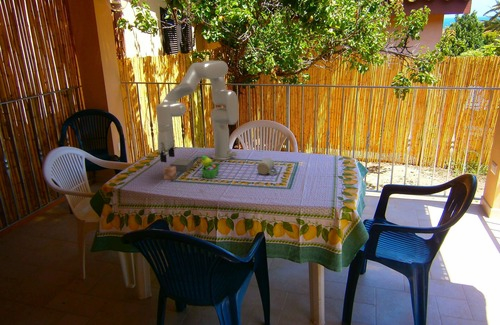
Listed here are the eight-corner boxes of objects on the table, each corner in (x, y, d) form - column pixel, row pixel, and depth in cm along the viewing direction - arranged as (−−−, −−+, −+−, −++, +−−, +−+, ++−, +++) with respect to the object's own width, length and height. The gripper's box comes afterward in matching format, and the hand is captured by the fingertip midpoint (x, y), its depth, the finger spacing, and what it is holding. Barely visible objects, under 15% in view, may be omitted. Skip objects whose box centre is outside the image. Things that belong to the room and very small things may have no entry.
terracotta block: (176, 176, 206) (175, 166, 204) (172, 180, 202) (171, 169, 200) (168, 176, 208) (167, 166, 206) (164, 179, 203) (163, 169, 201)
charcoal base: (193, 166, 223) (192, 159, 222) (186, 171, 214) (186, 165, 212) (177, 165, 225) (177, 158, 224) (170, 170, 216) (170, 164, 215)
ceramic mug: (256, 174, 207) (256, 161, 204) (262, 169, 214) (262, 156, 211) (274, 177, 203) (274, 163, 200) (279, 172, 210) (279, 159, 207)
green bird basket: (215, 179, 201) (213, 159, 198) (199, 178, 203) (197, 158, 199) (220, 172, 212) (219, 152, 208) (205, 171, 214) (204, 152, 210)
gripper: (166, 124, 204) (168, 154, 210) (150, 131, 188) (153, 163, 194) (178, 124, 203) (180, 155, 208) (164, 131, 187) (167, 164, 192)
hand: (167, 159), depth 201 cm, fingers open, 9 cm apart
